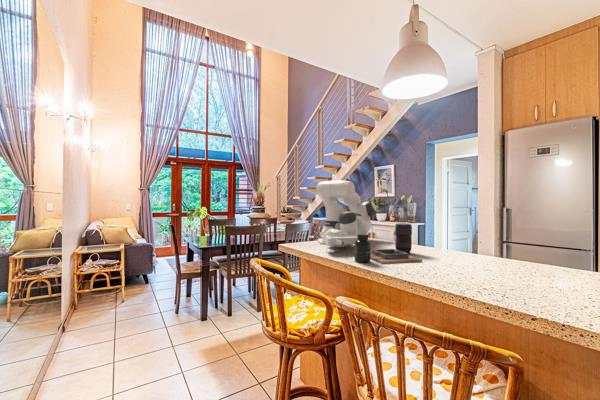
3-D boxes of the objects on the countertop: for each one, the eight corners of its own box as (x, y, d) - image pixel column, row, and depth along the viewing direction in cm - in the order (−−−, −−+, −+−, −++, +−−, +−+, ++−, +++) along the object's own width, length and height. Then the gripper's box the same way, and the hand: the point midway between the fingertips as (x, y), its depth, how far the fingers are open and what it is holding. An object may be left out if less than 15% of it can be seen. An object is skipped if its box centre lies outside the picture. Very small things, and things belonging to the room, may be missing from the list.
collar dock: (360, 254, 140) (360, 248, 140) (396, 253, 145) (396, 247, 145) (381, 263, 120) (381, 256, 120) (422, 261, 125) (422, 255, 125)
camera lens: (391, 252, 148) (391, 223, 148) (403, 251, 151) (403, 223, 151) (403, 255, 140) (403, 224, 140) (415, 253, 144) (415, 224, 144)
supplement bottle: (370, 263, 121) (371, 235, 121) (354, 262, 122) (354, 235, 122) (370, 260, 128) (370, 233, 127) (354, 259, 129) (354, 233, 129)
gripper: (358, 243, 153) (370, 248, 139) (322, 245, 148) (331, 249, 134) (358, 232, 153) (370, 235, 139) (322, 233, 148) (331, 236, 134)
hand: (351, 242), depth 137 cm, fingers open, 8 cm apart
